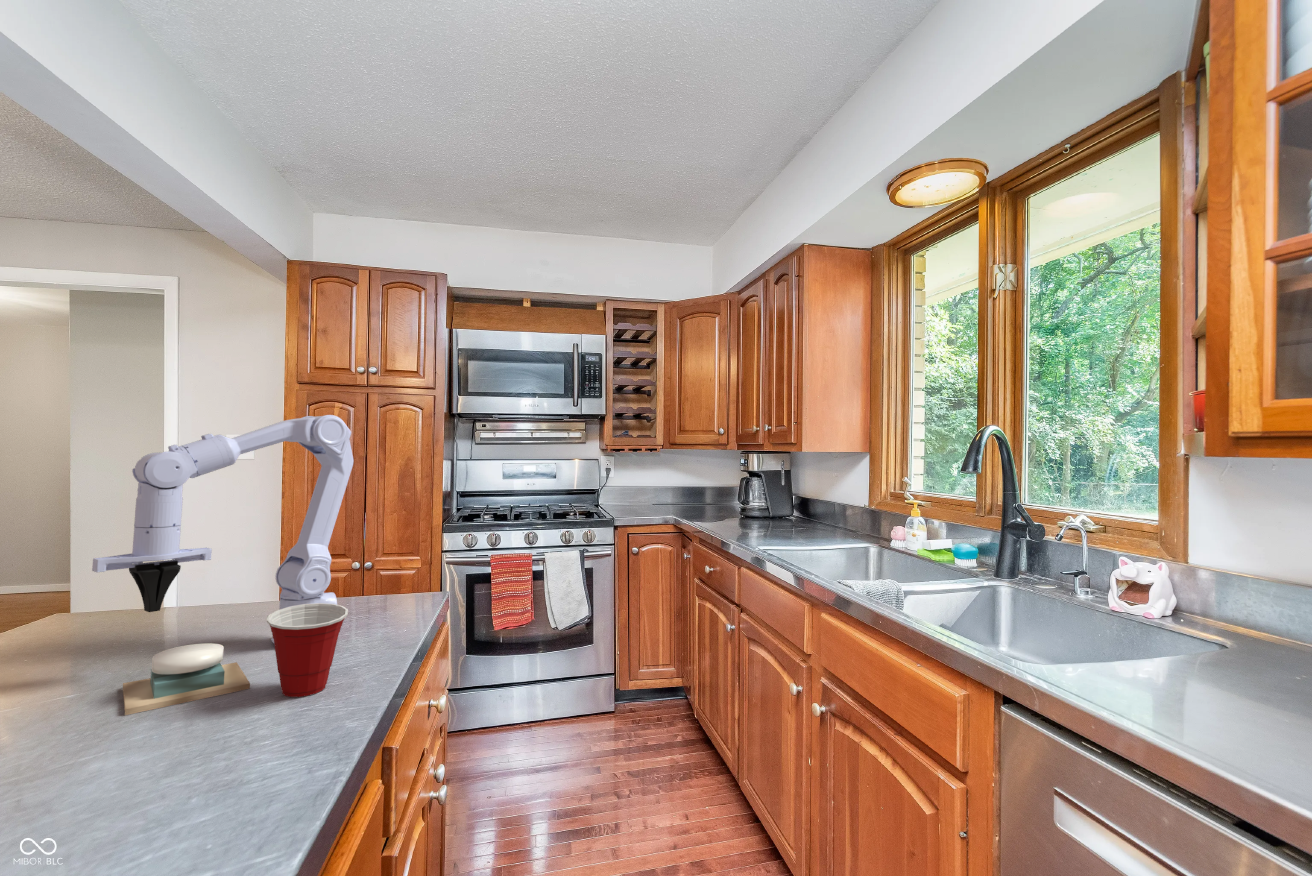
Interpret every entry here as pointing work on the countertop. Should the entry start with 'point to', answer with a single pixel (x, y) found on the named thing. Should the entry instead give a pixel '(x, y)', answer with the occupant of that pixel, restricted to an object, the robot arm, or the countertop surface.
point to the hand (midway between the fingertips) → (152, 610)
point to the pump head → (187, 658)
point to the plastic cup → (305, 645)
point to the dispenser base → (147, 703)
